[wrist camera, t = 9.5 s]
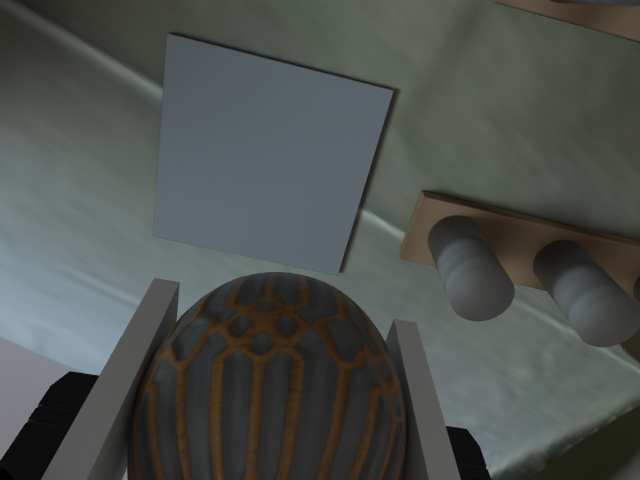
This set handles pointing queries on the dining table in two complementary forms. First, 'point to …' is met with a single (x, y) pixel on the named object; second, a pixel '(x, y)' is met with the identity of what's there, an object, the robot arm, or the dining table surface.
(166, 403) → the vase
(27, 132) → the dining table surface
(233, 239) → the mat
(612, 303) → the spacer rack
